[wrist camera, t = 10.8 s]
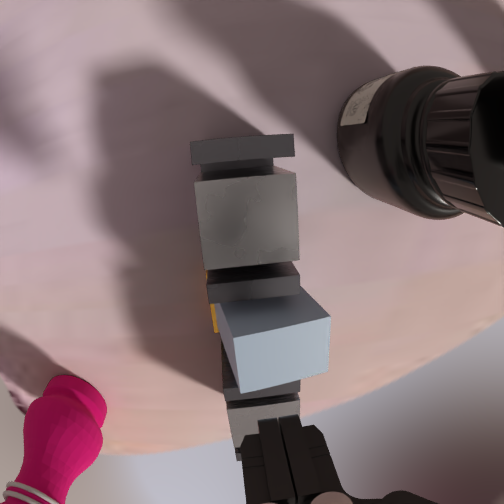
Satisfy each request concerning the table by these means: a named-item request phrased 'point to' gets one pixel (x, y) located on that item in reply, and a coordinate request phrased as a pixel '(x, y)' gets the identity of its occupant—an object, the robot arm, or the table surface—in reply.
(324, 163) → the table surface
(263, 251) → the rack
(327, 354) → the light grey block
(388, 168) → the ink bottle
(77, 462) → the pepper mill
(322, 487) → the robot arm
